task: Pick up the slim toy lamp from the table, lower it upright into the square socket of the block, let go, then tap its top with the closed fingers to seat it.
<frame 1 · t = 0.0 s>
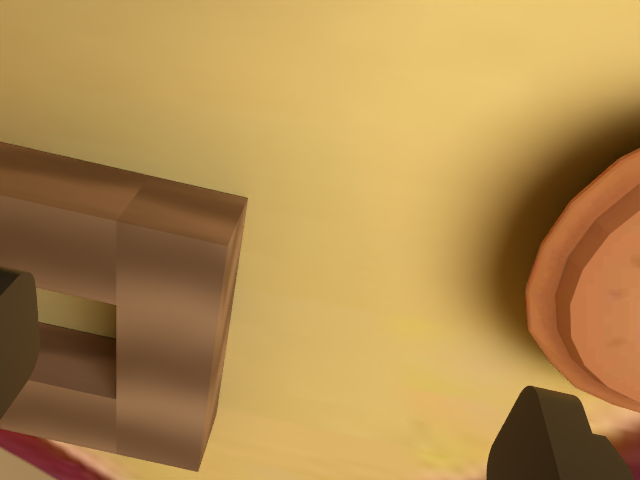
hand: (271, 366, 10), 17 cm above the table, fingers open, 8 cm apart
socket block: (85, 289, 33), on the table
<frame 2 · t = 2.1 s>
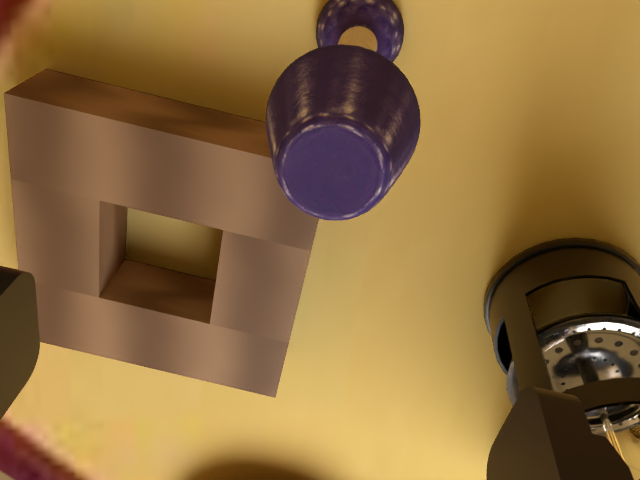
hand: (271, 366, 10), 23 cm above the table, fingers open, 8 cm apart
toy lamp: (365, 26, 29), on the table
socket block: (180, 228, 37), on the table
french press: (569, 306, 37), on the table
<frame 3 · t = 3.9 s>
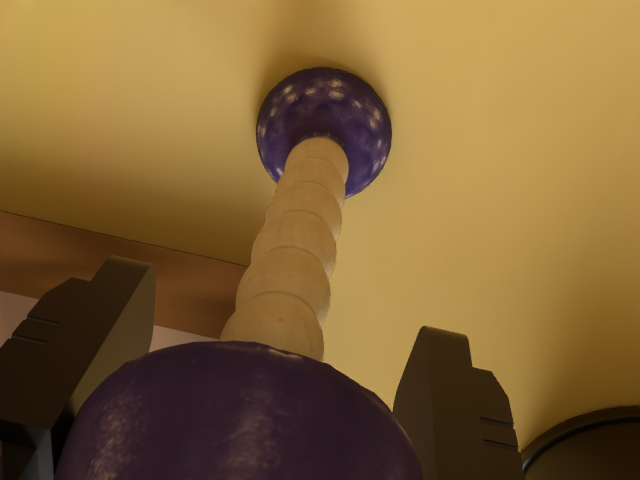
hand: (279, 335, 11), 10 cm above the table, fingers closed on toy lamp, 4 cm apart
toy lamp: (332, 124, 19), on the table, touching gripper
socket block: (85, 382, 26), on the table
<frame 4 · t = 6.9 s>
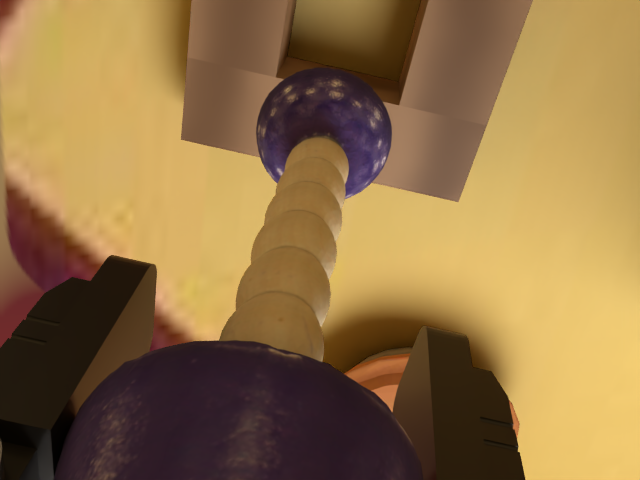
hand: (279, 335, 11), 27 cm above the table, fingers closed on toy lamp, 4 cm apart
toy lamp: (332, 124, 19), point 17 cm above the table, touching gripper
socket block: (355, 10, 33), on the table
pie: (411, 396, 49), on the table
when the fingers open (11 cm above the table, at t = 9.9 s): toy lamp drops 1 cm, resting in socket block.
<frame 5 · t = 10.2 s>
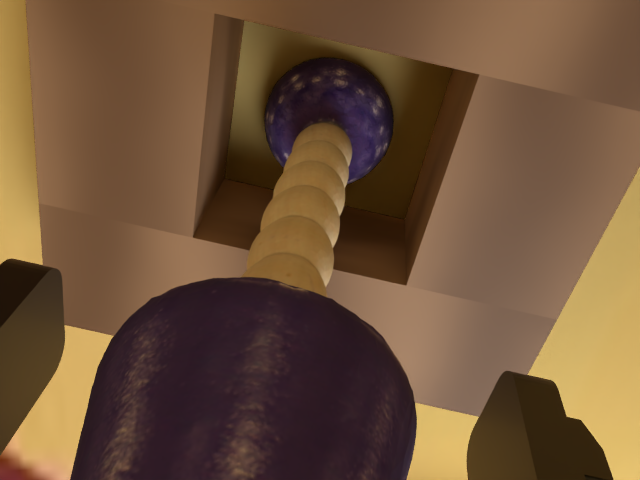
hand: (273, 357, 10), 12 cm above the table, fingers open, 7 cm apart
toy lamp: (336, 112, 20), resting in socket block
socket block: (333, 113, 20), on the table
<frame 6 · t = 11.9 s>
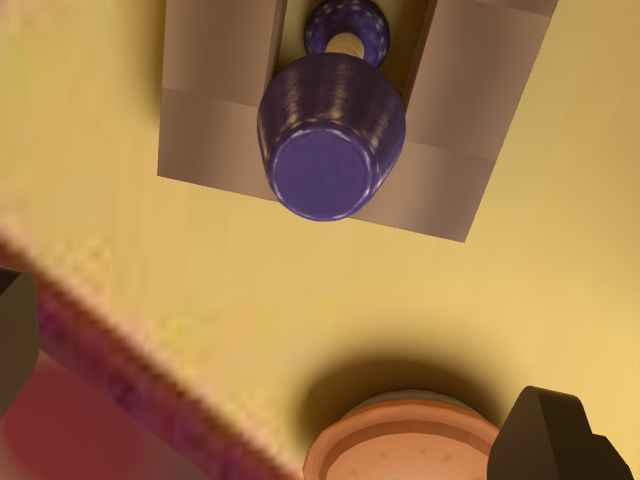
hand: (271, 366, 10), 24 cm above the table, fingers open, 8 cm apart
toy lamp: (351, 32, 30), resting in socket block
socket block: (350, 32, 30), on the table
pie: (412, 439, 45), on the table
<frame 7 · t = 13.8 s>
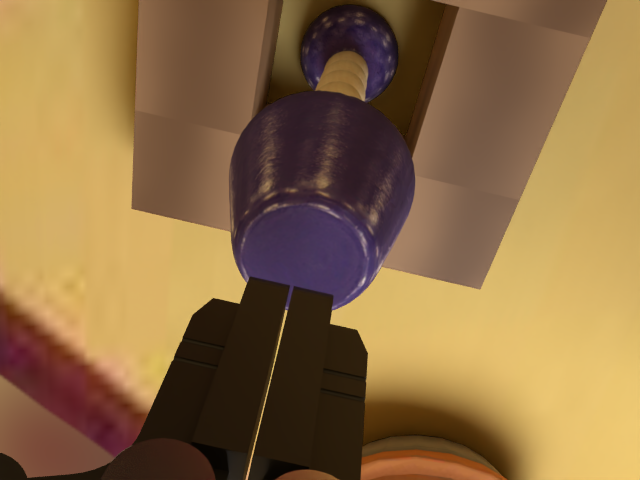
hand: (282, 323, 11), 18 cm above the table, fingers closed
toy lamp: (355, 48, 26), resting in socket block
socket block: (352, 48, 26), on the table
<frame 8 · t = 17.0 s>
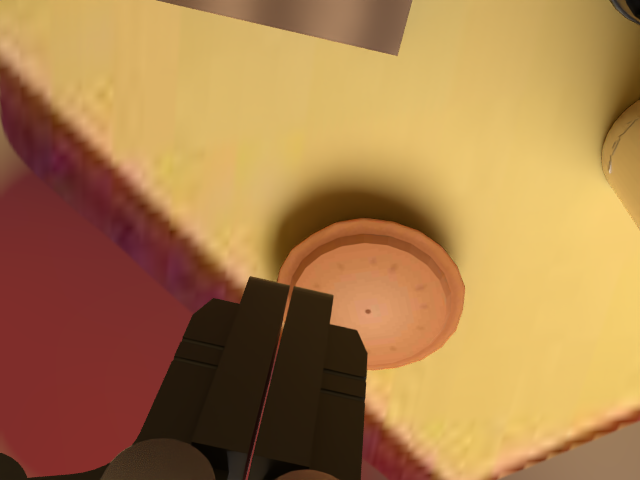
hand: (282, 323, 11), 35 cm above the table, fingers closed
pie: (370, 274, 53), on the table
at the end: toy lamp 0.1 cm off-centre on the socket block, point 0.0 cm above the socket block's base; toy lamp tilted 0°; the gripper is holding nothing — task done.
